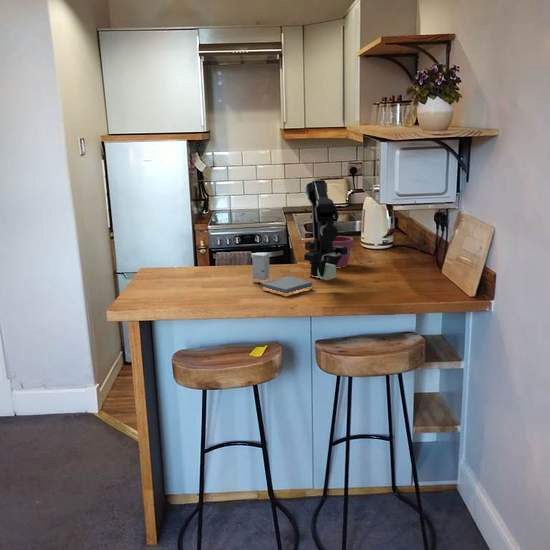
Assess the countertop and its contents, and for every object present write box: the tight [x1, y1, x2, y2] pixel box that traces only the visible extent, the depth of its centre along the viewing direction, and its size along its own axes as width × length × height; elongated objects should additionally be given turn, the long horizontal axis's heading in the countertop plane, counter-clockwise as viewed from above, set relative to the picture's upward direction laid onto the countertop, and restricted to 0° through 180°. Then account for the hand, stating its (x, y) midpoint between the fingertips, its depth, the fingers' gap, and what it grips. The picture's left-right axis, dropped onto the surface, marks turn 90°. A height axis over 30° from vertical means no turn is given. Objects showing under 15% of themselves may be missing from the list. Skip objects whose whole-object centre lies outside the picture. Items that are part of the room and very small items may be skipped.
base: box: [261, 276, 313, 293], centre depth 227 cm, size 14×14×3 cm
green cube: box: [317, 263, 337, 281], centre depth 223 cm, size 5×5×5 cm
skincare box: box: [251, 252, 270, 280], centre depth 239 cm, size 6×4×12 cm
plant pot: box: [328, 235, 354, 267], centre depth 261 cm, size 14×14×13 cm
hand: (326, 275), depth 224 cm, fingers closed on green cube, 5 cm apart
